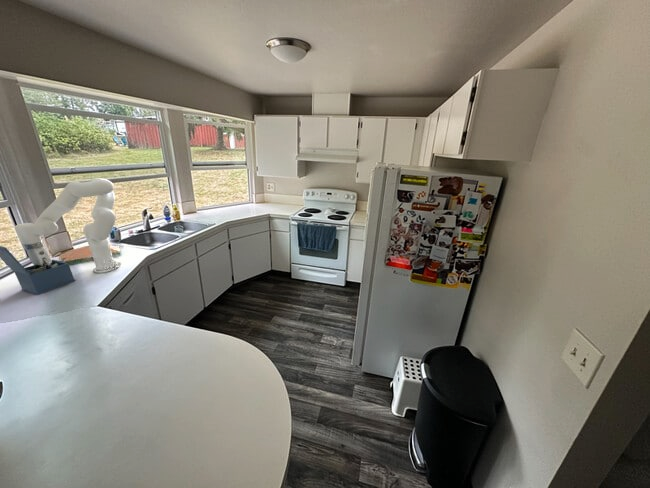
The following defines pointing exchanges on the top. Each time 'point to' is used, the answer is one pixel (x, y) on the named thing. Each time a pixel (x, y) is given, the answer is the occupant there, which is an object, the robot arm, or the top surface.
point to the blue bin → (45, 278)
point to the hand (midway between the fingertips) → (45, 273)
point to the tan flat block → (83, 253)
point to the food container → (40, 269)
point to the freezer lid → (12, 261)
